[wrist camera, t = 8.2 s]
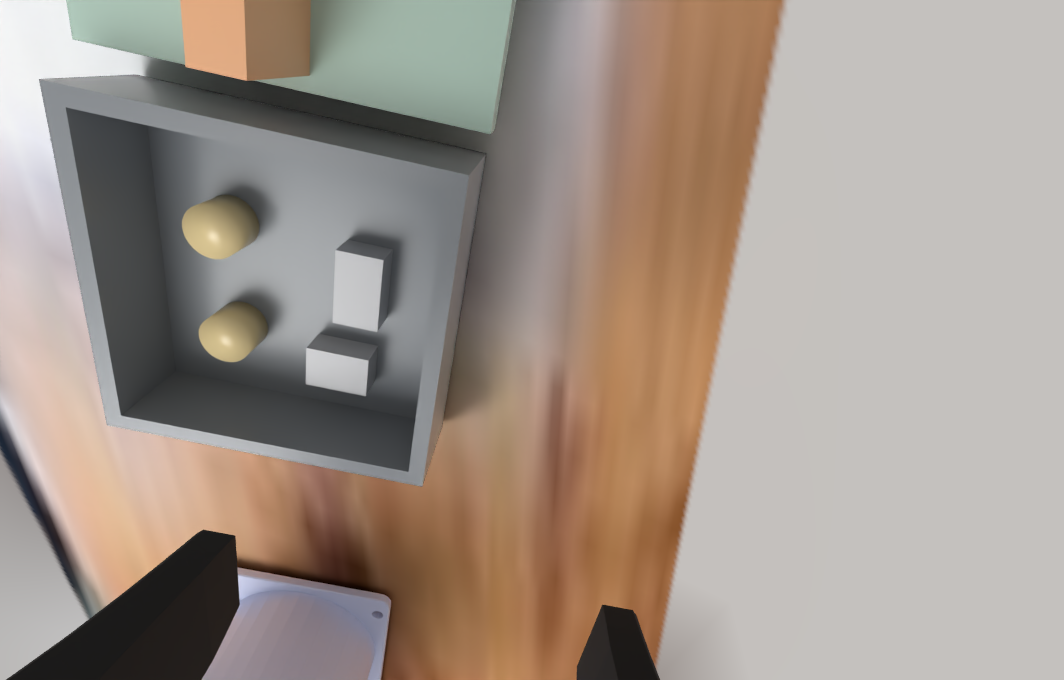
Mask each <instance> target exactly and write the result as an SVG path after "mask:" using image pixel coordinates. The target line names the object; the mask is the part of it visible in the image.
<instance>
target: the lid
mask: <svg viewBox="0 0 1064 680" xmlns="http://www.w3.org/2000/svg"><path fill="white" fill-rule="evenodd" d="M66 2H67V8H68V14H69V20H70V26H71V32H72V38H73V39H74V40H78V41H82V42H87V43H91V44H96V45H100V46H104V47H109V48H113V49H118V50H122V51H126V52H131V53H135V54H140V55H144V56H148V57H153V58H157V59H162V60H166V61H170V62H175V63H179V64H183V65H185V66H186V67H188V68H192V69H197V70H201V71H206V72H210V73H214V74H219V75H223V76H227V77H232V78H236V79H241V80H245V81H252V80H254V81H258V82H263V83H267V84H271V85H276V86H280V87H285V88H289V89H293V90H298V91H302V92H307V93H311V94H315V95H320V96H324V97H329V98H333V99H337V100H342V101H346V102H351V103H355V104H359V105H364V106H368V107H372V108H377V109H381V110H386V111H390V112H394V113H399V114H403V115H408V116H412V117H416V118H421V119H425V120H430V121H434V122H438V123H443V124H447V125H452V126H456V127H460V128H465V129H469V130H474V131H478V132H482V133H487V134H491V133H492V132H493V131H494V130H495V126H496V120H497V114H498V107H499V101H500V95H501V89H502V83H503V77H504V71H505V65H506V59H507V53H508V47H509V41H510V35H511V29H512V23H513V17H514V11H515V5H516V0H66Z"/></svg>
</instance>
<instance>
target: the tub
mask: <svg viewBox="0 0 1064 680" xmlns="http://www.w3.org/2000/svg"><path fill="white" fill-rule="evenodd" d="M39 81H40V86H41V91H42V97H43V102H44V107H45V112H46V117H47V122H48V127H49V132H50V137H51V142H52V148H53V153H54V158H55V163H56V168H57V173H58V178H59V183H60V188H61V193H62V199H63V204H64V209H65V214H66V219H67V224H68V229H69V234H70V239H71V244H72V250H73V255H74V260H75V265H76V270H77V275H78V280H79V285H80V290H81V295H82V300H83V306H84V311H85V316H86V321H87V326H88V331H89V336H90V341H91V346H92V351H93V357H94V362H95V367H96V372H97V377H98V382H99V387H100V392H101V397H102V402H103V408H104V413H105V418H106V423H107V425H108V426H114V427H119V428H124V429H129V430H134V431H139V432H144V433H150V434H155V435H160V436H165V437H170V438H175V439H180V440H185V441H191V442H196V443H201V444H206V445H211V446H216V447H221V448H226V449H232V450H237V451H242V452H247V453H252V454H257V455H262V456H267V457H273V458H278V459H283V460H288V461H293V462H298V463H303V464H308V465H314V466H319V467H324V468H329V469H334V470H339V471H344V472H350V473H355V474H360V475H365V476H370V477H375V478H380V479H385V480H391V481H396V482H401V483H406V484H411V485H416V486H421V487H422V486H423V483H424V480H425V477H426V474H427V471H428V468H429V465H430V462H431V459H432V456H433V453H434V450H435V447H436V444H437V441H438V438H439V435H440V432H441V429H442V424H443V418H444V412H445V406H446V400H447V393H448V387H449V381H450V375H451V369H452V363H453V356H454V350H455V344H456V338H457V332H458V326H459V319H460V313H461V307H462V301H463V295H464V289H465V282H466V276H467V270H468V264H469V258H470V252H471V245H472V239H473V233H474V227H475V221H476V215H477V208H478V202H479V196H480V190H481V184H482V178H483V171H484V165H485V159H486V154H485V153H481V152H477V151H472V150H468V149H463V148H459V147H454V146H450V145H446V144H441V143H437V142H432V141H428V140H423V139H419V138H415V137H410V136H406V135H401V134H397V133H393V132H388V131H384V130H379V129H375V128H370V127H366V126H362V125H357V124H353V123H348V122H344V121H339V120H335V119H331V118H326V117H322V116H317V115H313V114H308V113H304V112H300V111H295V110H291V109H286V108H282V107H277V106H273V105H269V104H264V103H260V102H255V101H251V100H246V99H242V98H238V97H233V96H229V95H224V94H220V93H215V92H211V91H207V90H202V89H198V88H193V87H189V86H184V85H180V84H176V83H171V82H167V81H162V80H158V79H153V78H149V77H145V76H140V75H117V76H96V77H74V78H52V79H39Z"/></svg>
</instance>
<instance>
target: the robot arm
mask: <svg viewBox="0 0 1064 680" xmlns="http://www.w3.org/2000/svg"><path fill="white" fill-rule="evenodd" d="M390 609H391V600H390V599H389V597H387V596H386V595H384V594H380V593H374V592H369V591H363V590H358V589H352V588H347V587H342V586H336V585H331V584H325V583H320V582H315V581H309V580H304V579H298V578H293V577H288V576H282V575H277V574H271V573H266V572H260V571H255V570H250V569H244V568H239V567H237V554H236V539H235V536H234V535H228V534H223V533H218V532H212V531H207V530H202V531H200V532H198V533H197V534H196V535H195V536H193V537H192V538H191V539H190V540H188V541H187V542H186V543H185V544H184V545H182V546H181V547H180V548H179V549H177V550H176V551H175V552H174V553H173V554H171V555H170V556H169V557H168V558H166V559H165V560H164V561H163V562H162V563H160V564H159V565H158V566H157V567H155V568H154V569H153V570H152V571H150V572H149V573H148V574H147V575H145V576H144V577H143V578H142V579H140V580H139V581H138V582H137V583H135V584H134V585H133V586H132V587H130V588H129V589H128V590H127V591H125V592H124V593H123V594H122V595H120V596H119V597H118V598H116V599H115V600H114V601H112V602H111V603H110V604H109V605H107V606H106V607H105V608H103V609H102V610H101V611H99V612H98V613H97V614H95V615H94V616H93V617H92V618H90V619H89V620H88V621H86V622H85V623H84V624H82V625H81V626H80V627H79V628H77V629H76V630H75V631H73V632H72V633H71V634H69V635H68V636H66V637H65V638H64V639H63V640H61V641H60V642H58V643H57V644H56V645H54V646H53V647H51V648H50V649H49V650H47V651H46V652H44V653H43V654H41V655H40V656H39V657H37V658H36V659H35V660H33V661H32V662H30V663H29V664H28V665H26V666H25V667H24V668H22V669H21V670H19V671H18V672H16V673H15V674H14V675H12V676H11V677H9V678H8V679H7V680H381V677H382V669H383V662H384V654H385V647H386V639H387V632H388V624H389V617H390ZM577 680H660V678H659V676H658V673H657V671H656V668H655V666H654V663H653V660H652V658H651V655H650V653H649V650H648V647H647V644H646V642H645V639H644V636H643V633H642V631H641V628H640V625H639V622H638V619H637V616H636V614H635V613H634V612H633V610H628V609H623V608H618V607H612V606H607V605H602V607H601V610H600V612H599V614H598V617H597V619H596V622H595V624H594V627H593V629H592V631H591V634H590V636H589V639H588V641H587V644H586V646H585V648H584V651H583V653H582V656H581V658H580V661H579V663H578V665H577Z"/></svg>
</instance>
